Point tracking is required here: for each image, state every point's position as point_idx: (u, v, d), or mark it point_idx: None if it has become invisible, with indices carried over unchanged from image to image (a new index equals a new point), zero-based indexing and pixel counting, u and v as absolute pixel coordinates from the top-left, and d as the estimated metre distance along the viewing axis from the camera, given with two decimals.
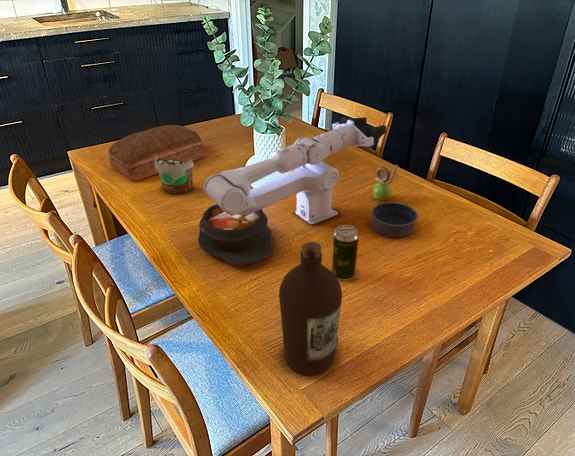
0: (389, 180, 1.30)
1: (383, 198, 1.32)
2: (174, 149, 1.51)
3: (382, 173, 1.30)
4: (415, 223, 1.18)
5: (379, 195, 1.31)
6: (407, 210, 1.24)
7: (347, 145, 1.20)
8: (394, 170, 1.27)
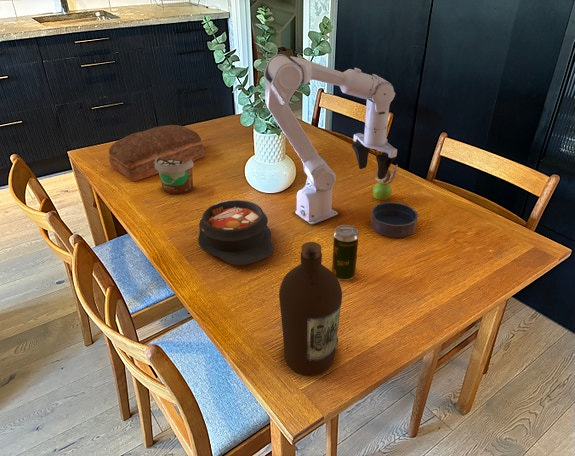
0: (389, 180, 1.30)
1: (383, 198, 1.32)
2: (174, 149, 1.51)
3: None
4: (415, 223, 1.18)
5: (379, 195, 1.31)
6: (407, 210, 1.24)
7: (379, 134, 1.17)
8: (394, 170, 1.27)
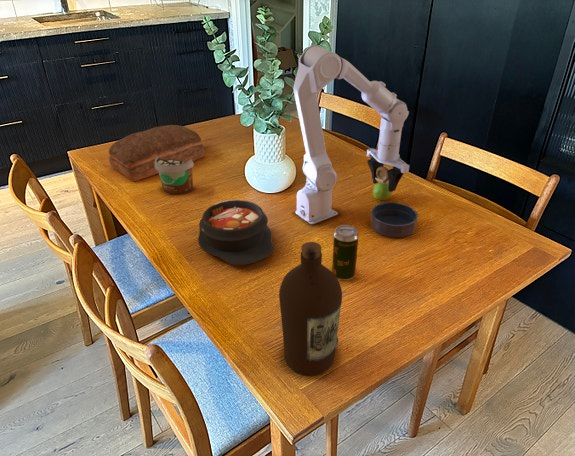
0: None
1: (383, 198, 1.32)
2: (174, 149, 1.51)
3: (382, 173, 1.30)
4: (415, 223, 1.18)
5: (379, 195, 1.31)
6: (407, 210, 1.24)
7: (392, 151, 1.23)
8: None
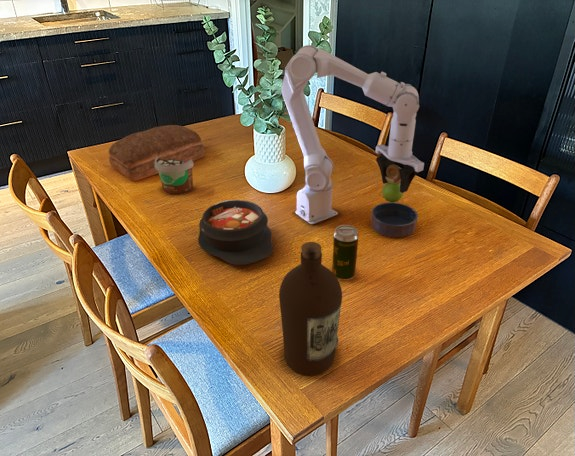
0: None
1: (394, 199, 1.19)
2: (174, 149, 1.51)
3: (393, 172, 1.18)
4: (415, 223, 1.18)
5: (390, 196, 1.18)
6: (407, 210, 1.24)
7: (405, 147, 1.10)
8: None
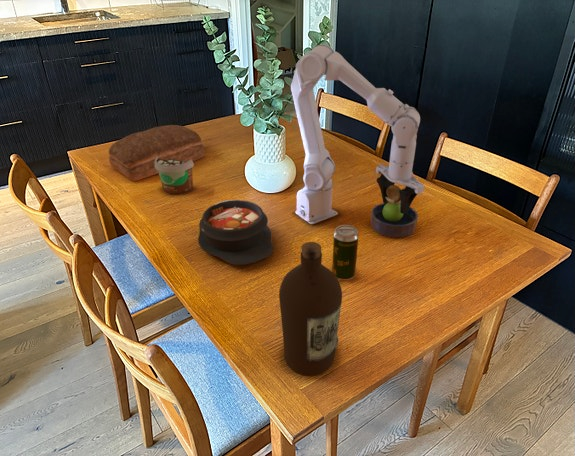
0: None
1: (394, 220, 1.19)
2: (174, 149, 1.51)
3: (393, 192, 1.18)
4: (415, 223, 1.18)
5: (390, 217, 1.18)
6: None
7: (405, 169, 1.10)
8: None
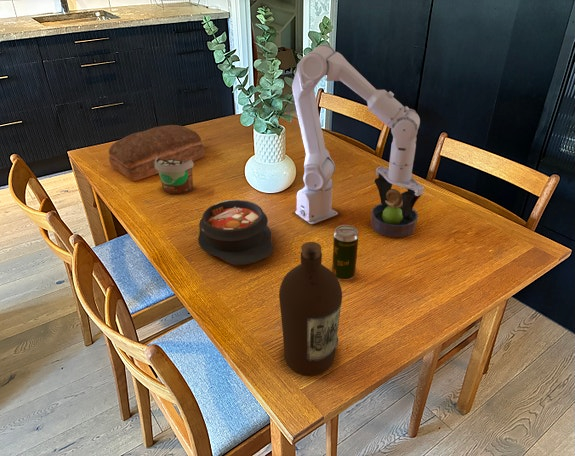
0: (401, 204, 1.17)
1: (394, 223, 1.20)
2: (174, 149, 1.51)
3: (393, 196, 1.18)
4: (415, 223, 1.18)
5: (390, 220, 1.19)
6: None
7: (405, 171, 1.11)
8: None
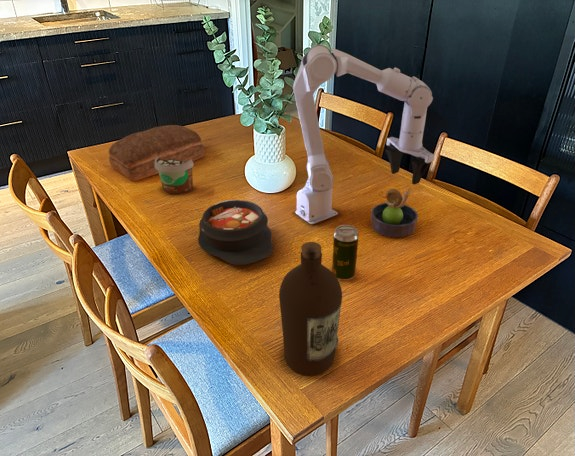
0: (401, 204, 1.17)
1: (394, 223, 1.20)
2: (174, 149, 1.51)
3: (393, 196, 1.18)
4: (415, 223, 1.18)
5: (390, 220, 1.19)
6: (407, 210, 1.24)
7: (415, 139, 1.15)
8: (406, 193, 1.15)
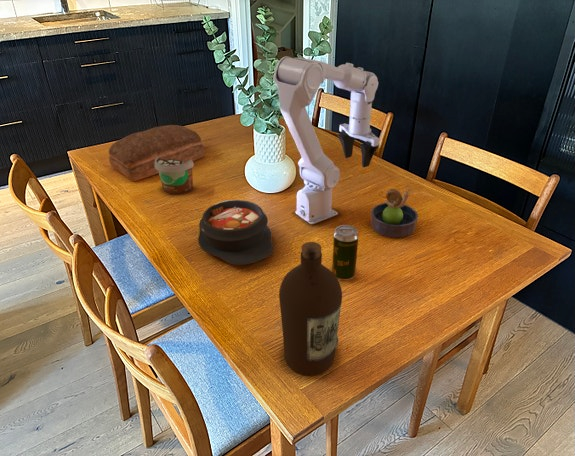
0: (401, 204, 1.17)
1: (394, 223, 1.20)
2: (174, 149, 1.51)
3: (393, 196, 1.18)
4: (415, 223, 1.18)
5: (390, 220, 1.19)
6: (407, 210, 1.24)
7: (363, 124, 1.24)
8: (406, 193, 1.15)
